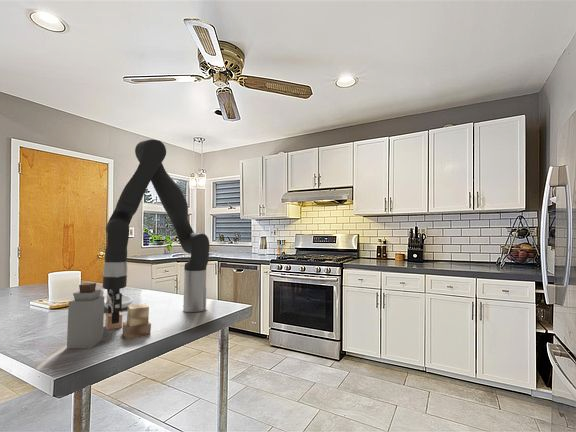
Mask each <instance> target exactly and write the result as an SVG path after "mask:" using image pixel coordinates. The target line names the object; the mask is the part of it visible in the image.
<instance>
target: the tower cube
mask: <svg viewBox="0 0 576 432" xmlns="http://www.w3.org/2000/svg"><path fill="white" fill-rule="evenodd" d="M126 313H127V315H126V316H127V317H126V322H127V323H128V324H129V326H130V327H131V326H137V325H143V324H148V322H149V319H150V318H149V316H150V315H149V313H150V307H149V305H148V304H147V303H139V304H130V305H129V306H128V307H127V312H126Z"/></svg>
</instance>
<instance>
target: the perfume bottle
mask: <svg viewBox="0 0 576 432" xmlns="http://www.w3.org/2000/svg"><path fill="white" fill-rule="evenodd" d="M96 285H97V283H96V282H85V283H81V284H79V286H78V288H79V290H78V291H75V292H73V293H72V296H73V299H72V300H69V301H68V309H67V313H68V314H67V334H66V335H67V337H66V349H90V348H91V349H92V348H93V347H94V346H96V345H97V344H99V343H100V342H101V341H103V339H104V318H105V314H104V313H105V306H104V296H99V295H100V292H101V290H102V289H96Z"/></svg>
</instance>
